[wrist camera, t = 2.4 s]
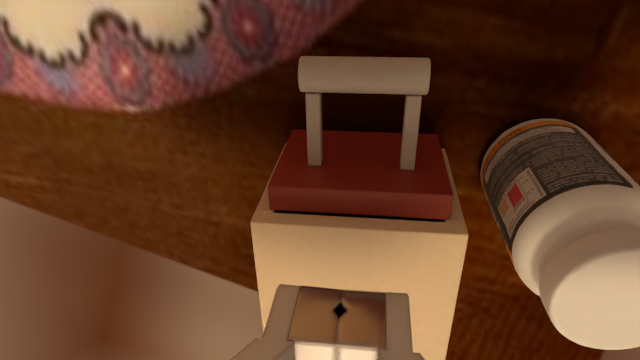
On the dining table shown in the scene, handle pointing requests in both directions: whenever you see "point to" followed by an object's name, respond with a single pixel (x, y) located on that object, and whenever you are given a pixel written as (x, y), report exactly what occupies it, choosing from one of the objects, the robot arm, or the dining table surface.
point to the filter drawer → (363, 148)
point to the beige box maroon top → (367, 261)
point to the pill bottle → (569, 228)
